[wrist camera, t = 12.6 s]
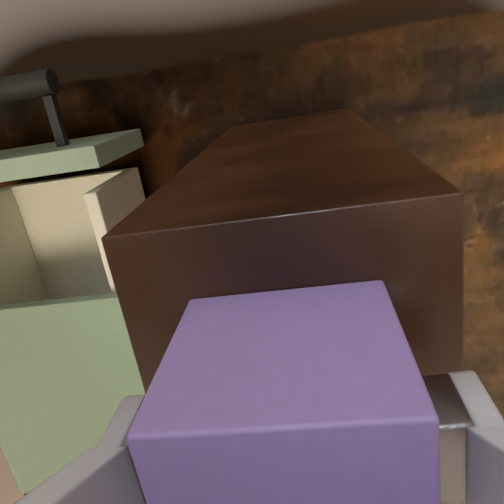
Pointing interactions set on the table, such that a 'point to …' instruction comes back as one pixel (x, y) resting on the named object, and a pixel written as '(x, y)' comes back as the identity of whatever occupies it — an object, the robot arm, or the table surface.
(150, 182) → the table surface
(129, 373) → the sage green nightstand
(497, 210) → the table surface
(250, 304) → the lavender cube
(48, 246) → the drawer
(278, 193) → the stand
